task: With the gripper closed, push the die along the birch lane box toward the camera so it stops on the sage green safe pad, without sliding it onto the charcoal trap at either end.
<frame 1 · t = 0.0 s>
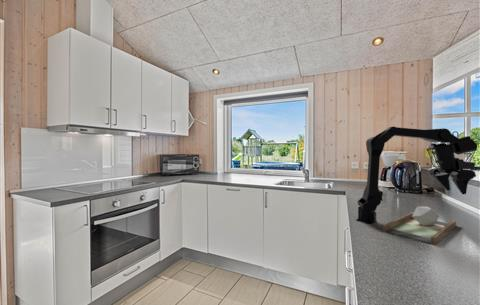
hand: (455, 192, 93), 15 cm above the worktop, tool pointing down, fingers open, 9 cm apart
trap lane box: (420, 228, 92), on the worktop
die: (425, 225, 95), resting on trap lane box
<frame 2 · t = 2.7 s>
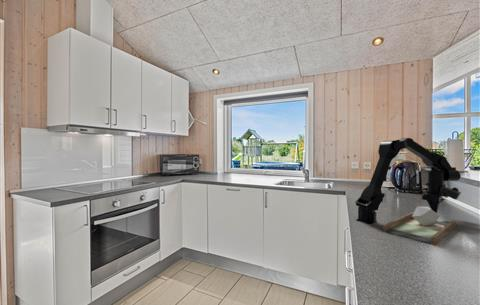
hand: (435, 213, 105), 3 cm above the worktop, tool pointing down, fingers closed
nothing on the worktop moved.
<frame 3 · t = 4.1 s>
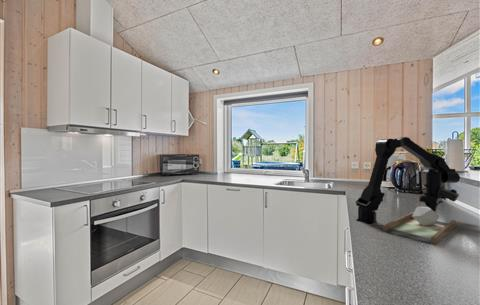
hand: (433, 215, 103), 2 cm above the worktop, tool pointing down, fingers closed
nothing on the worktop moved.
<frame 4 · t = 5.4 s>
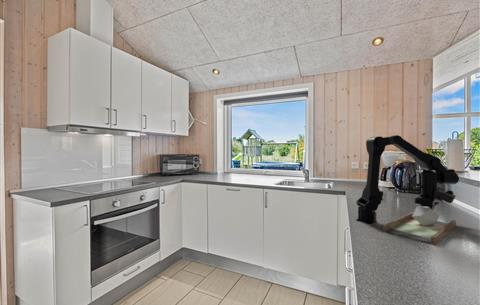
hand: (428, 217, 99), 3 cm above the worktop, tool pointing down, fingers closed
die: (425, 225, 95), resting on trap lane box, touching gripper
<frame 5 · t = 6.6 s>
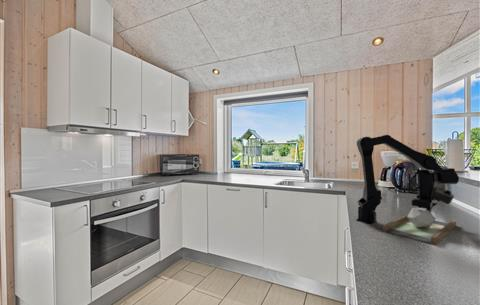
hand: (427, 219, 95), 3 cm above the worktop, tool pointing down, fingers closed
die: (420, 226, 93), point 1 cm above the worktop, touching gripper, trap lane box
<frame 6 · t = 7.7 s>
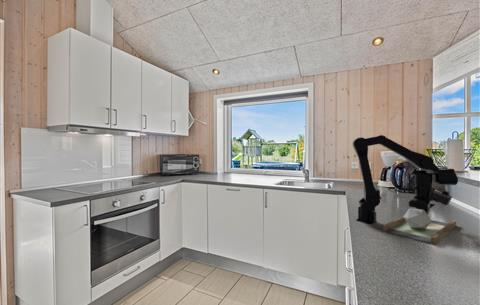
hand: (424, 220, 93), 3 cm above the worktop, tool pointing down, fingers closed
die: (415, 227, 92), point 1 cm above the worktop, touching gripper, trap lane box
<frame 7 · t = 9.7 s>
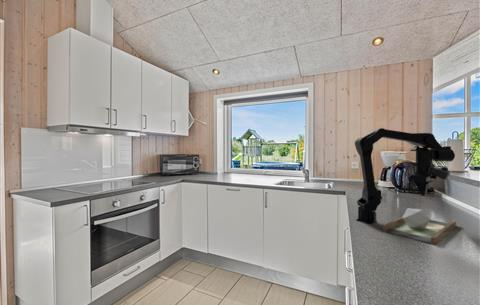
hand: (423, 195, 97), 13 cm above the worktop, tool pointing down, fingers closed
die: (415, 228, 92), resting on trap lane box
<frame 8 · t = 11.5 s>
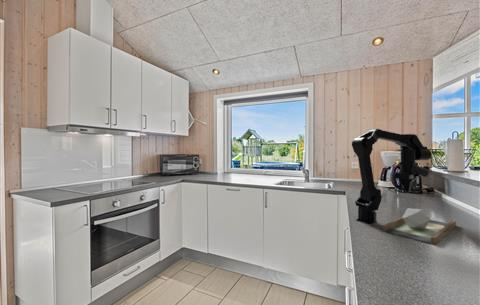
hand: (407, 192, 105), 13 cm above the worktop, tool pointing down, fingers closed
nothing on the worktop moved.
at the end: die inside the target area (3.1 cm from its centre), resting on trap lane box; die tilted 0°; die moved 8.3 cm from its start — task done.
